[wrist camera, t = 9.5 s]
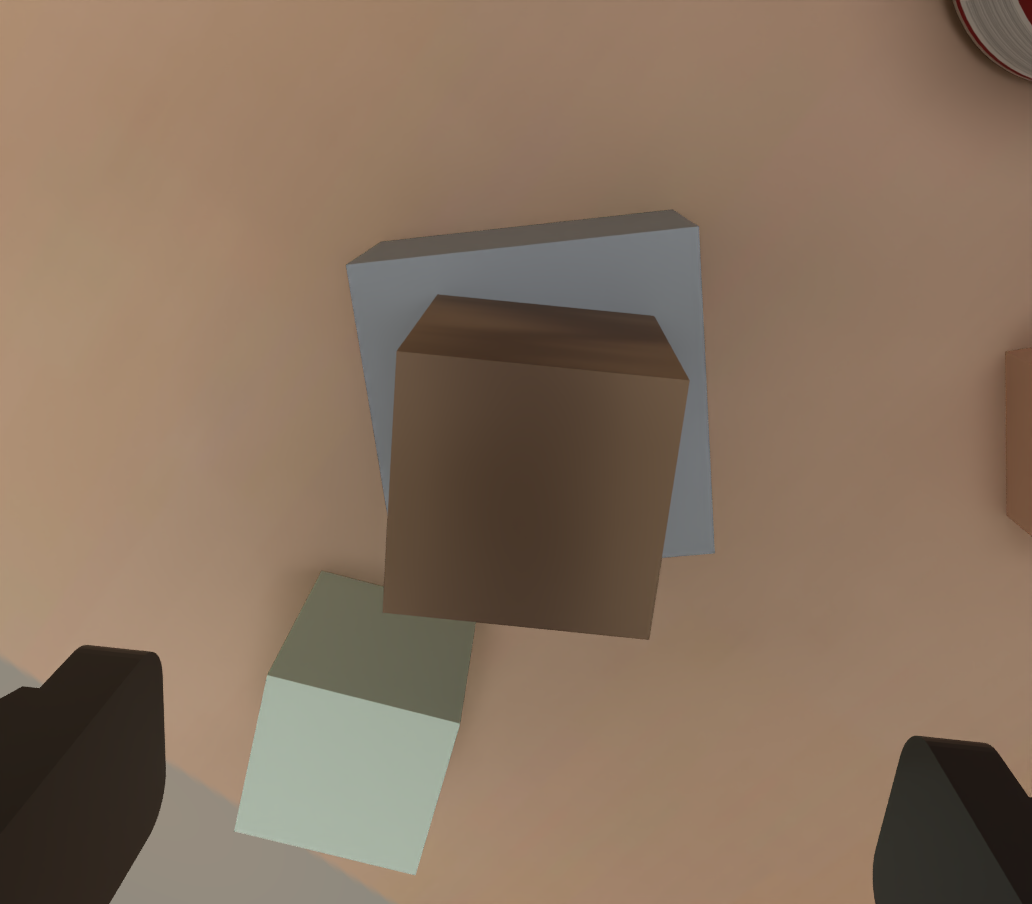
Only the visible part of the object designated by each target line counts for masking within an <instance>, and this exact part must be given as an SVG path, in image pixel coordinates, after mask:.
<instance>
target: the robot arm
mask: <svg viewBox="0 0 1032 904" xmlns="http://www.w3.org/2000/svg"><path fill="white" fill-rule="evenodd" d="M165 777H166V763H165V733H164V703H163V674H162V666H161V661H160V659H159V657H158V655H157V654H156V653H154V652H148V651H139V650H129V649H120V648H110V647H101V646H92V645H83V646H81V647H79V648H78V649H77V650H75V651H74V652H73V653H72V654H71V655H70V657H69V658H68V659H67V660H66V661H65V662H64V663H63V664H62V665H61V666H60V667H59V668H58V669H57V670H56V671H55V672H54V673H53V675H52V676H51V677H50V678H49V679H48V680H47V681H46V682H45V683H44V684H43V685H42V686H41V687H40V688H32V687H21V688H19V689H17V690H15V691H14V692H11V693H10V694H8V695H6V696H4V697H2V698H0V904H109V903H110V901H111V900H112V898H113V897H114V895H115V893H116V891H117V890H118V888H119V886H120V885H121V883H122V881H123V880H124V878H125V876H126V875H127V873H128V871H129V869H130V868H131V866H132V864H133V863H134V861H135V859H136V858H137V856H138V854H139V853H140V851H141V849H142V847H143V846H144V844H145V842H146V841H147V839H148V837H149V835H150V834H151V832H152V830H153V827H154V825H155V822H156V819H157V817H158V814H159V811H160V807H161V803H162V799H163V794H164V787H165ZM873 890H874V898H875V903H876V904H1032V798H1031V797H1028V795H1027V794H1026V792H1025V791H1024V789H1023V788H1022V787H1021V785H1020V784H1019V782H1018V781H1017V779H1016V778H1015V777H1014V775H1013V774H1012V772H1011V771H1010V769H1009V768H1008V767H1007V765H1006V764H1005V762H1004V761H1003V759H1002V758H1001V757H1000V755H999V754H998V752H997V751H996V750H995V749H994V748H993V747H992V746H991V745H989V744H987V743H980V742H971V741H961V740H952V739H943V738H933V737H924V736H913V737H911V738H910V739H908V741H907V742H906V743H905V745H904V747H903V749H902V752H901V756H900V759H899V763H898V767H897V770H896V774H895V778H894V782H893V786H892V789H891V793H890V797H889V801H888V805H887V808H886V812H885V816H884V820H883V823H882V827H881V831H880V835H879V839H878V842H877V846H876V850H875V855H874V862H873Z"/></svg>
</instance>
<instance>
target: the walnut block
mask: <svg viewBox="0 0 1032 904" xmlns="http://www.w3.org/2000/svg"><path fill="white" fill-rule="evenodd" d="M689 382H690V380H689V378H688V376H687V375H686V373H685V371H684V369H683V367H682V365H681V364H680V362H679V360H678V358H677V356H676V355H675V353H674V351H673V349H672V347H671V345H670V344H669V342H668V340H667V338H666V336H665V335H664V333H663V331H662V329H661V327H660V325H659V324H658V322H657V320H656V318H655V316H651V315H641V314H631V313H621V312H611V311H601V310H591V309H580V308H570V307H560V306H550V305H540V304H530V303H520V302H510V301H500V300H490V299H480V298H469V297H459V296H449V295H439V294H437V296H436V297H435V298H434V300H433V301H432V303H431V304H430V305H429V307H428V308H427V310H426V311H425V312H424V314H423V315H422V316H421V318H420V319H419V321H418V322H417V323H416V325H415V326H414V328H413V329H412V330H411V332H410V333H409V335H408V336H407V337H406V339H405V340H404V341H403V343H402V344H401V346H400V347H399V348H398V350H397V351H396V369H395V388H394V407H393V425H392V444H391V463H390V482H389V500H388V519H387V538H386V556H385V575H384V594H383V612H382V613H390V614H400V615H410V616H420V617H430V618H439V619H449V620H459V621H469V622H479V623H489V624H499V625H508V626H518V627H528V628H538V629H548V630H558V631H568V632H577V633H587V634H597V635H607V636H617V637H627V638H636V639H646V640H649V637H650V631H651V625H652V618H653V612H654V605H655V599H656V593H657V586H658V580H659V573H660V567H661V561H662V554H663V548H664V542H665V535H666V529H667V522H668V516H669V510H670V503H671V497H672V491H673V484H674V478H675V471H676V465H677V459H678V452H679V446H680V439H681V433H682V427H683V420H684V414H685V408H686V401H687V395H688V388H689Z"/></svg>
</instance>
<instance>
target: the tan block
mask: <svg viewBox="0 0 1032 904" xmlns="http://www.w3.org/2000/svg"><path fill="white" fill-rule="evenodd" d="M1005 373H1006V504H1007V516H1008V517H1009V518H1010V519H1012V520H1013V521H1014V522H1015V523H1016V524H1018V525H1019V526H1020V527H1021V528H1022V529H1024V530H1025V531H1026V532H1027V533H1028V534H1030V535H1031V536H1032V348H1025V349H1019V350H1012V351H1006V352H1005Z"/></svg>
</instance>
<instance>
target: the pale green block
mask: <svg viewBox="0 0 1032 904" xmlns="http://www.w3.org/2000/svg"><path fill="white" fill-rule="evenodd" d="M383 594H384V587H383V586H379V585H375V584H371V583H368V582H364V581H360V580H356V579H352V578H348V577H344V576H340V575H336V574H333V573H329V572H325V571H321V573H320V575H319V577H318V579H317V581H316V583H315V585H314V587H313V588H312V590H311V592H310V594H309V596H308V598H307V600H306V602H305V604H304V606H303V608H302V610H301V611H300V613H299V615H298V617H297V619H296V621H295V623H294V625H293V627H292V629H291V631H290V632H289V634H288V636H287V638H286V640H285V642H284V644H283V646H282V648H281V650H280V652H279V654H278V655H277V657H276V659H275V661H274V663H273V665H272V667H271V669H270V671H269V673H268V675H267V679H266V683H265V688H264V693H263V697H262V702H261V707H260V712H259V716H258V721H257V726H256V731H255V735H254V740H253V745H252V749H251V754H250V759H249V764H248V768H247V773H246V778H245V782H244V787H243V792H242V797H241V801H240V806H239V811H238V816H237V820H236V825H235V830H234V831H236V832H239V833H244V834H248V835H252V836H256V837H260V838H264V839H269V840H272V841H276V842H280V843H285V844H289V845H293V846H297V847H301V848H305V849H309V850H313V851H317V852H322V853H326V854H330V855H334V856H338V857H342V858H346V859H350V860H355V861H359V862H363V863H367V864H371V865H375V866H379V867H383V868H388V869H392V870H396V871H400V872H404V873H408V874H412V875H416V871H417V868H418V865H419V861H420V858H421V855H422V851H423V848H424V844H425V841H426V838H427V834H428V831H429V827H430V824H431V821H432V817H433V814H434V810H435V807H436V804H437V800H438V797H439V794H440V790H441V787H442V783H443V780H444V777H445V773H446V770H447V766H448V763H449V760H450V756H451V753H452V750H453V746H454V743H455V739H456V736H457V733H458V729H459V726H460V721H461V715H462V708H463V702H464V695H465V689H466V682H467V676H468V670H469V663H470V657H471V650H472V644H473V637H474V631H475V624H476V622H469V621H459V620H449V619H439V618H430V617H420V616H410V615H400V614H390V613H382V612H383Z"/></svg>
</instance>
